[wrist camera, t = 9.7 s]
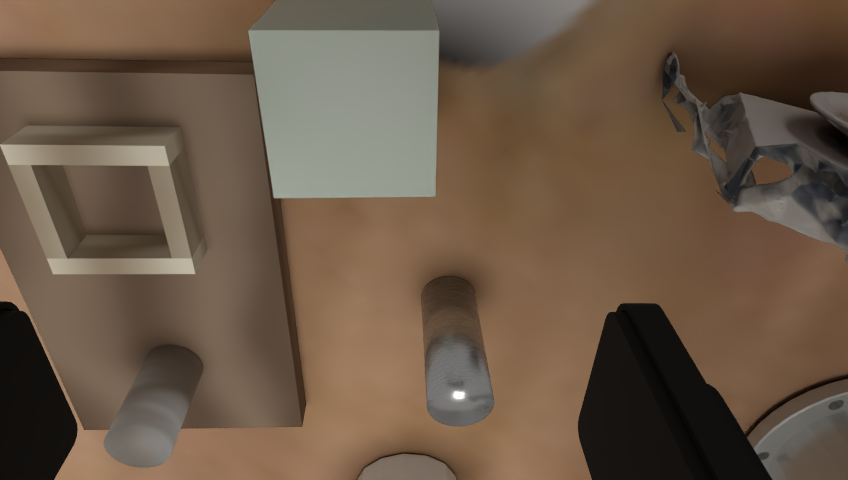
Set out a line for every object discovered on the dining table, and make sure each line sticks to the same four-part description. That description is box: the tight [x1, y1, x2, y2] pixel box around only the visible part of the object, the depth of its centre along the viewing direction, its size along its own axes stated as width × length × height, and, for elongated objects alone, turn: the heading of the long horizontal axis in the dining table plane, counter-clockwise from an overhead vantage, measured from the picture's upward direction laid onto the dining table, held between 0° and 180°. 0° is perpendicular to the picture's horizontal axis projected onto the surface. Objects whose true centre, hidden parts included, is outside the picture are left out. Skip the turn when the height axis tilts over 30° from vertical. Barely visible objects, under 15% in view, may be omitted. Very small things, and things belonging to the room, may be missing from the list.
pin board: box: [0, 58, 306, 468], centre depth 25 cm, size 12×20×7 cm, turn 178°
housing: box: [248, 0, 439, 198], centre depth 20 cm, size 5×5×6 cm
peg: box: [421, 276, 494, 426], centre depth 27 cm, size 3×3×7 cm
